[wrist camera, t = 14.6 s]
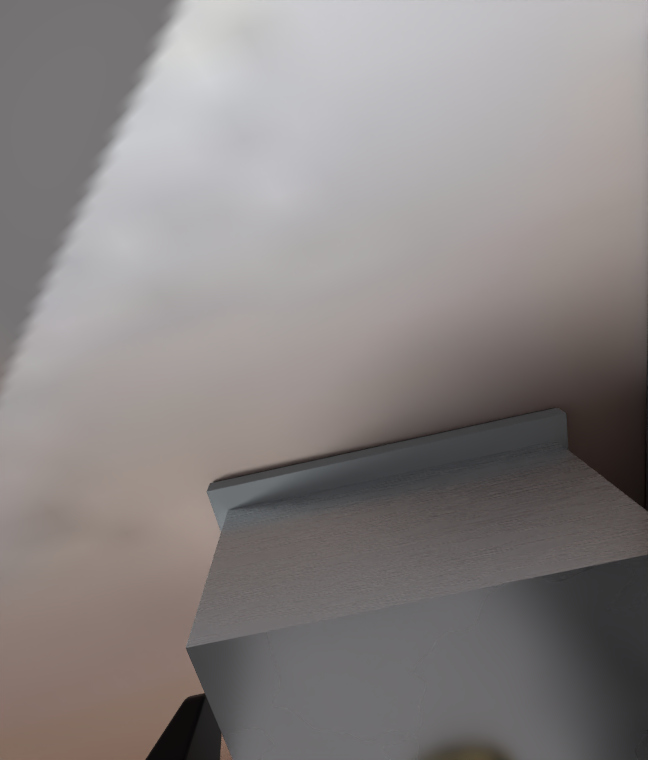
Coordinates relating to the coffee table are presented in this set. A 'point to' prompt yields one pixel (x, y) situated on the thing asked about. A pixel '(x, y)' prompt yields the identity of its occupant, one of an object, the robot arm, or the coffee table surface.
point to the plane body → (647, 447)
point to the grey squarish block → (433, 617)
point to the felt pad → (389, 460)
